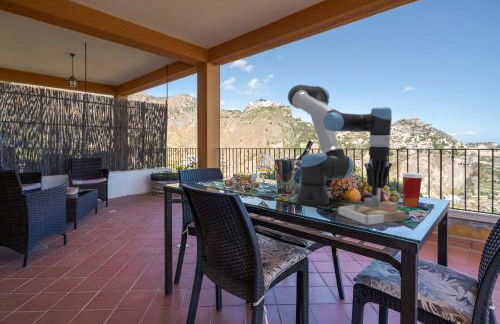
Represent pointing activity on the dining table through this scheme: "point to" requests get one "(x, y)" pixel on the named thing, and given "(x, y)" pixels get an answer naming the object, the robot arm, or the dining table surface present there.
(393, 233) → the dining table surface
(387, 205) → the tan block
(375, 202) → the tile grey
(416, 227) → the dining table surface
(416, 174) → the coffee cup
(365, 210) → the board
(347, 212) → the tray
